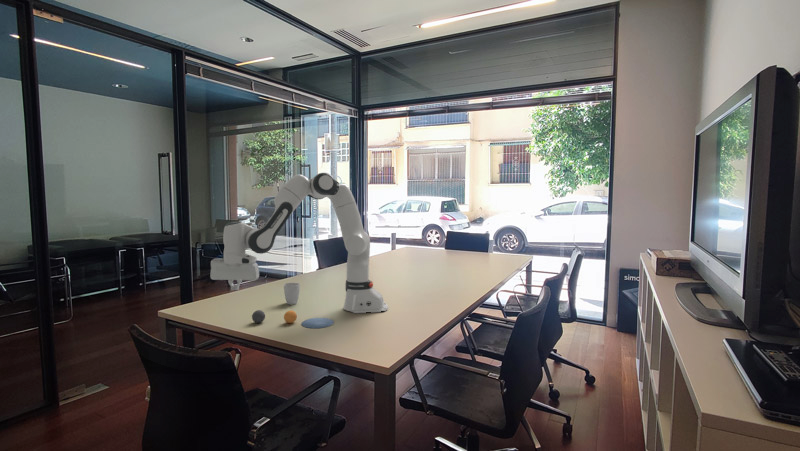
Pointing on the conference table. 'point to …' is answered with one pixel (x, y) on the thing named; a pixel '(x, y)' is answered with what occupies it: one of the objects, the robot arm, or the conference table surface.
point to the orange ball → (290, 316)
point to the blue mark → (317, 323)
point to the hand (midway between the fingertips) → (235, 289)
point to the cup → (291, 292)
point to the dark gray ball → (258, 316)
